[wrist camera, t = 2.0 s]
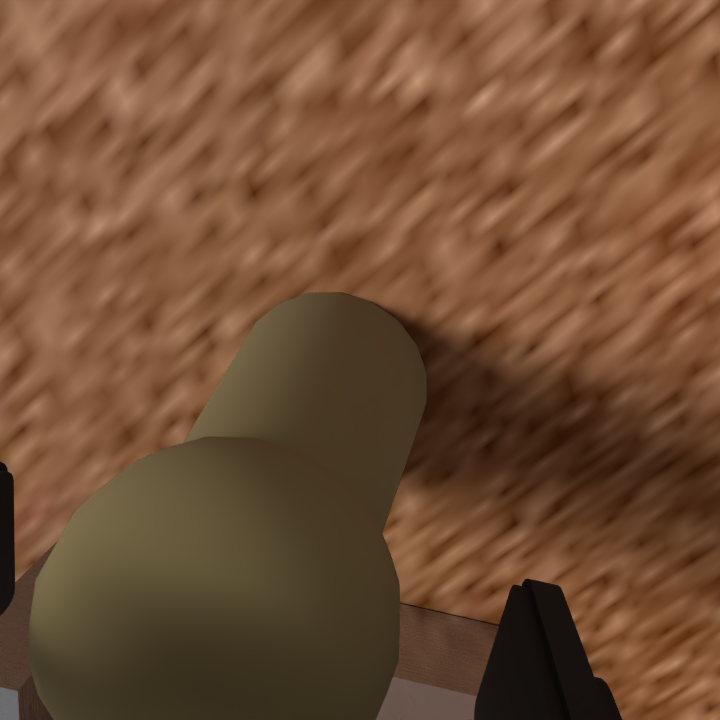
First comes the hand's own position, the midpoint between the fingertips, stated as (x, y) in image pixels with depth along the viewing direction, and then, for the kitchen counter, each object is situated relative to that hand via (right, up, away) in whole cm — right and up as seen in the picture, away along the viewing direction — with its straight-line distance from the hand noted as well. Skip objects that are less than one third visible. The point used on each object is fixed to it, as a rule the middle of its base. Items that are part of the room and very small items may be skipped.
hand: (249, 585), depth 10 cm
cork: (+1, +3, +7) cm, 8 cm away
